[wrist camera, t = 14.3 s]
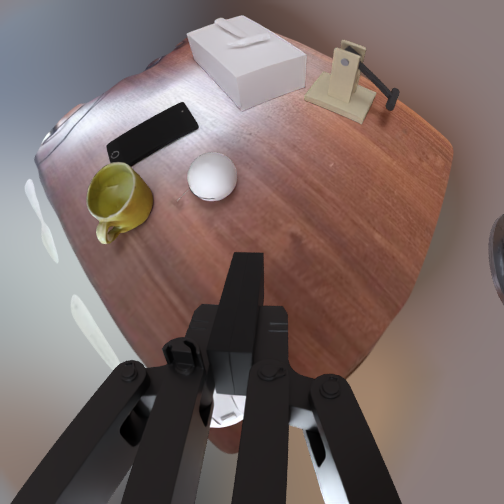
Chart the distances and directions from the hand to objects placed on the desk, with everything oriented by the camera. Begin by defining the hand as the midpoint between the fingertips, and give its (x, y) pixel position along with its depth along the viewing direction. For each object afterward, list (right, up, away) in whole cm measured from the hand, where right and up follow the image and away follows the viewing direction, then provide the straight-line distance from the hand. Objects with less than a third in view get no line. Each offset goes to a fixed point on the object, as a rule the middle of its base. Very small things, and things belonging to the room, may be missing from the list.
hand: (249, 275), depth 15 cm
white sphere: (-6, +11, +28) cm, 31 cm away
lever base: (+18, +32, +32) cm, 49 cm away
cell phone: (-19, +23, +33) cm, 45 cm away
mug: (-20, +7, +28) cm, 35 cm away
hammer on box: (-2, +41, +37) cm, 55 cm away
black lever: (+21, +32, +24) cm, 45 cm away
